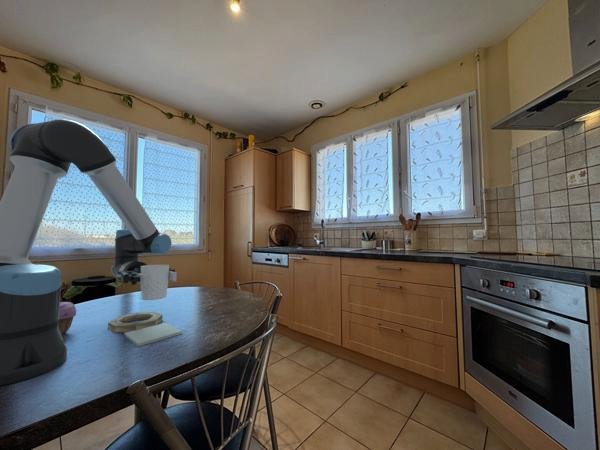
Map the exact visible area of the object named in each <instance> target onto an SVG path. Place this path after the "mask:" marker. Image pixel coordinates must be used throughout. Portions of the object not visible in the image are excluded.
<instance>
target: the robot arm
mask: <svg viewBox="0 0 600 450" xmlns="http://www.w3.org/2000/svg"><path fill="white" fill-rule="evenodd" d="M8 144H9V145H8V146H9V149H10V150H11V154H10V157H9V161H10V162H11V163H12V164H13V165H14V169H13V171H12V174H11V176H10V178H9V181H8V183H7V186H6V187H5V189H4V192H3V194H2V196H1V199H0V386H5V385H11V384H13V383H14V384H15V383H18V382H21V381H25V380H28V379H32V378H35V377H37V376H39V375H40V376H41V375H42V374H45V373H47V372H49V371H52V370H53V369H55V368H58V367H59V366H61V365H62V364H64V363H65V362H66V360H67V358H68V348H67V345H66V343H65V340H64V338H63V336H62V335H63V334H62V335H61V333H60V330H59V309H60V302H61V288H62V283H63V281H62V276H61V275H62V274H61V270H60V269H59V268H58V267H57V266H53V265H48V264H33V263H32V262H31V260H29V256H30V254H31V251H32V248H33V245H34V242H35V240H36V238H37V235H38V232H39V230H40V227H41V224H42V221H43V219H44V217H45V214H46V211H47V208H48V207H49V206H48V205H49V202H50V200H51V198H52V195H53V193H54V190H55V187H56V185H57V182H58V180H59V179H61V178H64V177H67V174H68V172H69V170H70V167H71V164H73V165H74V166H75V167H76V168H77V169H78V171H79V172H80V173H81V174H85V175H87V176H88V177H89V178H90V180H91V182H92V183H93V184H94V185H95V186H96V188H97V189H98V191H99V192H100V193H101V195H102V196H103V197H104V199H105V200H106V202H107V203H108V205H110V207H111V208H112V210H113V211H114V212H115V213H116V216H118V218H119V219H120V221H122V223H123V224H124V225H125V227H126V228H119V229H117V230H116V232H115V239H114V263H112V266H111V268H110V271H111V274H112V275H113V276H114V277H115V278H116V279H117V281H118V280H119V281H121V282H122V283H123V284H127V283H130V285H131V286H135V285H137V284H140V285H141V284H142V285H147V279H148V275H144V274H141V268H140V267H141V266H145V265H148V264H147V263H146V262H143V261H139V256H140V254H143V255H164V254H166V253H168V252H169V250H170V249H171V248H172V238H171V237H170V236H169V235H168V234H166V233H163V232H162V233H161V232H159V230H158V229H157V226H155V223H154V222H153V220H152V219H151V218H150V216H149V215H148V213H147V212H146V210H145V209H144V207H143V206H142V204H141V202H140V201H139V199H138V197H137V196H136V194H135V193H134V192H133V190H132V188H131V187H130V185H129V184H128V181H126V179H125V178H124V176H123V175H122V172H120V170H119V169H118V167H117V165H116V163H117V159H116V157H115V155H114V154H113V153H112V151H111V150H110V148H109V146H107V144H106V143H105V142H104V141H103V140H102V139H101V138H100V137H99V136H98V135H97V134H96V133H95V132H94V131H92V130H91V129H90V128H88V127H87V126H85V125H84V124H81V123H80V122H77V121H74V120H70V119H65V118H63V119H62V118H60V119H53V120H52V119H51V120H49V121H43V122H37V123H36V122H35V123H30V124H29V123H28V124H25V125H22V126H21V127H18V128H16V129H15V130H14V131H13V132H12V133H11V134H10V136H9V139H8ZM177 276H178V275H177V271H176V269H172V268H170V267H169V277H168V281H171V282H177V281H178V280H177Z"/></svg>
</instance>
